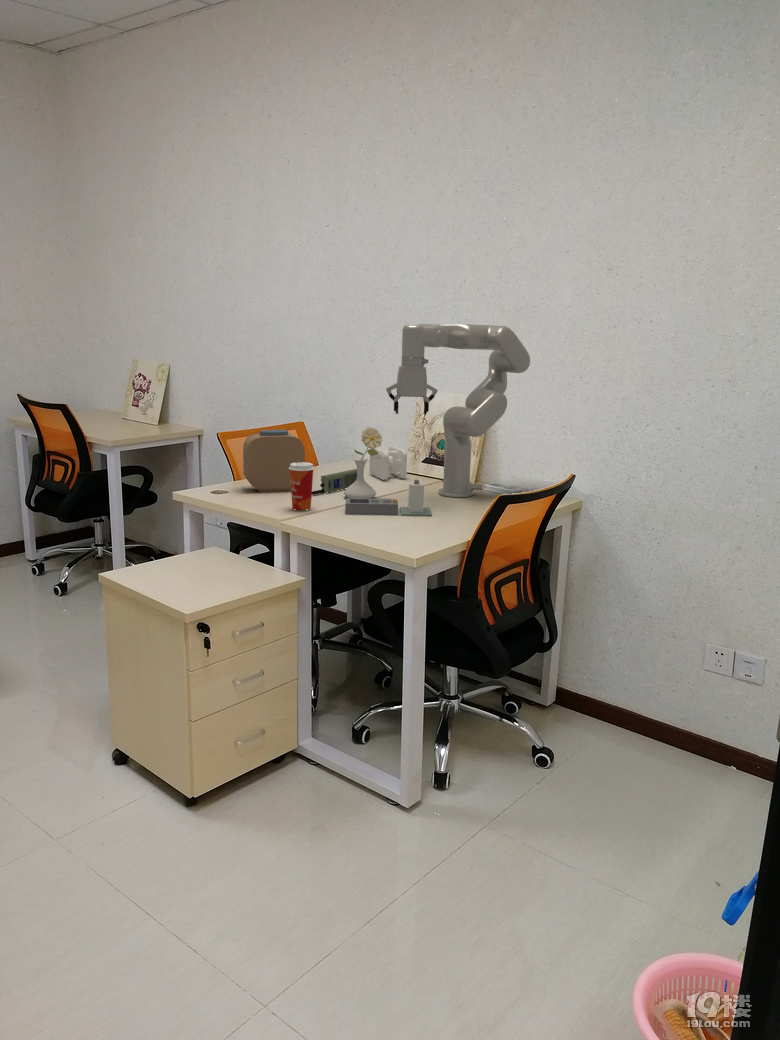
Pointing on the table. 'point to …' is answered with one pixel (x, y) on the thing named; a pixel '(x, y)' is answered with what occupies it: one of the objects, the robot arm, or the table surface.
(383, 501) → the power strip
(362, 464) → the flower in vase
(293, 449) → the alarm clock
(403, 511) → the mat
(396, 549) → the table surface
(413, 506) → the block
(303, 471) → the coffee cup
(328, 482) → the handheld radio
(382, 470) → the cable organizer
